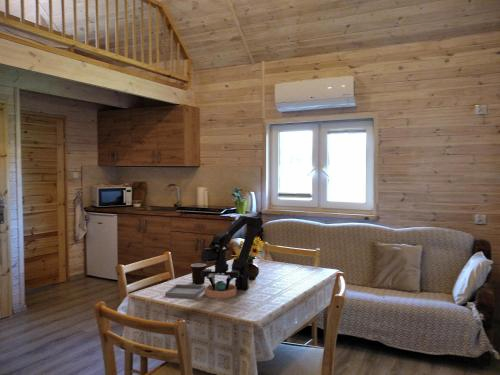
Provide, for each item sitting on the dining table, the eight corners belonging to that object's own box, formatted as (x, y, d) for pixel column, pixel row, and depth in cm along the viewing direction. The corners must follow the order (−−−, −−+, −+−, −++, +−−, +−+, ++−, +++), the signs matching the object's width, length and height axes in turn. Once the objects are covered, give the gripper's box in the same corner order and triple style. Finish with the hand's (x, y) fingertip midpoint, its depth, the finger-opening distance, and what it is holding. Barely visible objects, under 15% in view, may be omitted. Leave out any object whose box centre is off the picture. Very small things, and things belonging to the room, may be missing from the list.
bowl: (238, 290, 224) (238, 283, 224) (232, 299, 208) (232, 292, 208) (209, 289, 226) (209, 282, 226) (201, 297, 211) (201, 290, 211)
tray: (205, 289, 226) (205, 285, 226) (196, 298, 210) (196, 294, 210) (176, 287, 229) (176, 284, 229) (165, 296, 213) (165, 292, 213)
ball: (227, 291, 220) (227, 279, 220) (225, 294, 214) (225, 282, 214) (216, 290, 221) (216, 279, 221) (213, 294, 215) (213, 282, 215)
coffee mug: (203, 285, 233) (203, 267, 233) (188, 284, 235) (188, 266, 235) (209, 280, 245) (209, 262, 244) (195, 279, 247) (195, 262, 246)
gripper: (241, 257, 223) (241, 287, 224) (206, 256, 226) (207, 285, 227) (237, 261, 212) (237, 293, 213) (201, 260, 215) (201, 291, 216)
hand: (220, 290), depth 217 cm, fingers closed on ball, 6 cm apart
